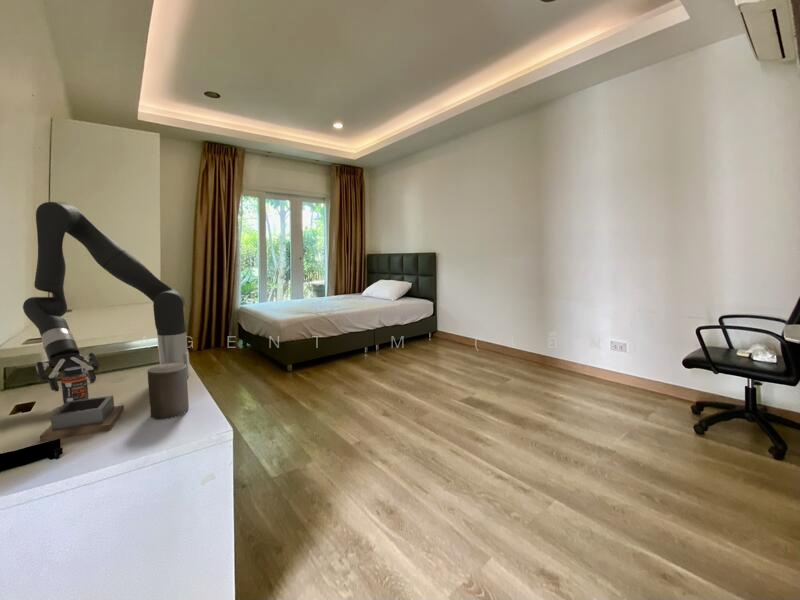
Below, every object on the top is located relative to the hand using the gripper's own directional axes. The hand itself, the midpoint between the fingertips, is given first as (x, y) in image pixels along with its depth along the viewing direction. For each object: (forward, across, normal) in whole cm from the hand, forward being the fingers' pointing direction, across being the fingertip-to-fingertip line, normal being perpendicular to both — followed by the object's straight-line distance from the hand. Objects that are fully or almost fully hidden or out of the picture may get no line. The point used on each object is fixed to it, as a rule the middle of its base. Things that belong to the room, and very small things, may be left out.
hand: (75, 385), depth 111 cm
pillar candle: (+26, +13, -18) cm, 35 cm away
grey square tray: (+17, -3, -11) cm, 21 cm away
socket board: (+18, -3, -10) cm, 21 cm away
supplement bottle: (+4, 0, +5) cm, 6 cm away
